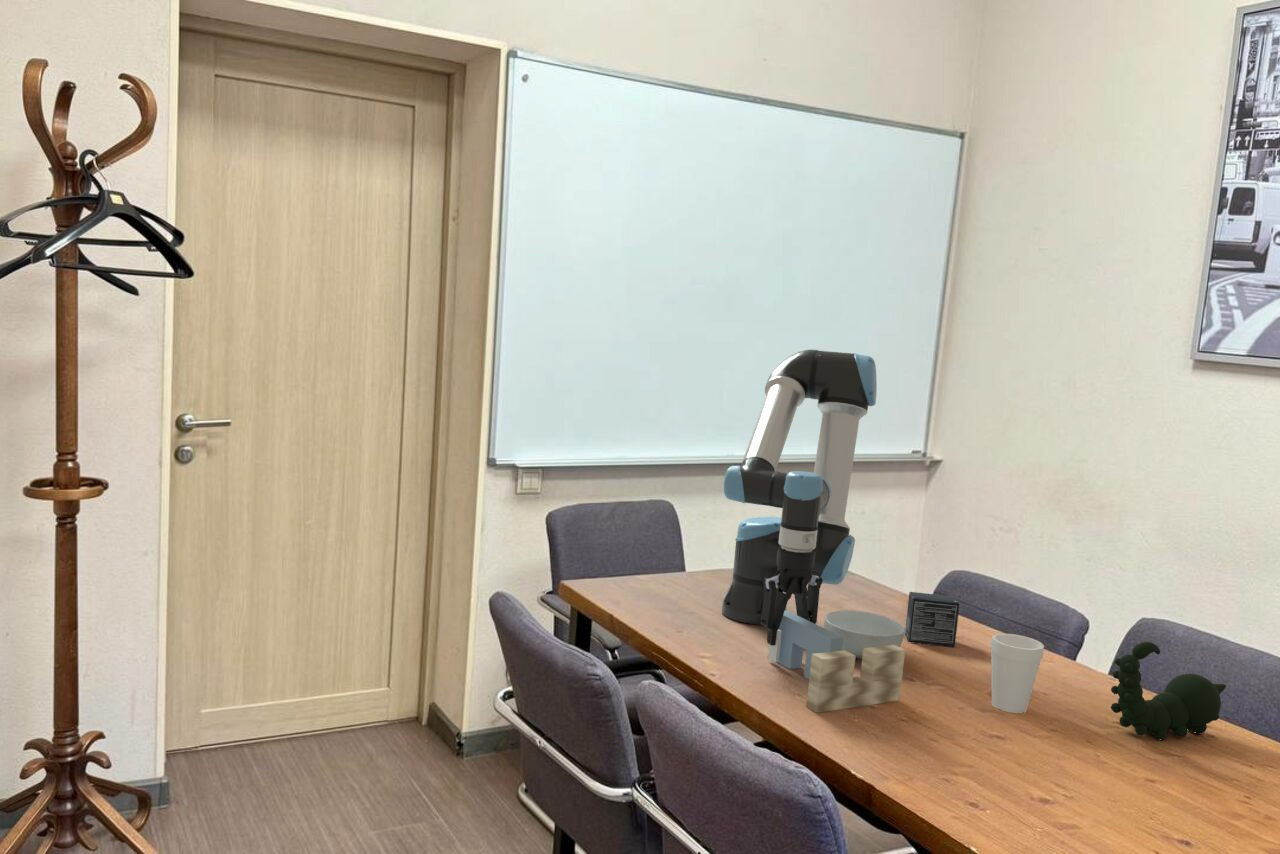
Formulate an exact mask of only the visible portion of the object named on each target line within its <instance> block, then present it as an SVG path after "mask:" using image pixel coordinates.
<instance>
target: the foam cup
mask: <svg viewBox="0 0 1280 854" xmlns="http://www.w3.org/2000/svg"><path fill="white" fill-rule="evenodd" d="M989 646H990V648H989V649H990V652H991V654H990V655H991V657H990V659H991V663H990V664H991V671H990V672H991V675H990V676H991V705H992V706H993V707H994V708H995V707H996V708H995V709H997V708H998V709H997V710H999V709H1001V710H1000V711H1002V710H1003V712H1005V711H1008V712H1007V713H1010V712H1012V713H1011V714H1023V713H1022V712H1024V713H1026V712H1027V711H1028V710H1027V709H1028V707H1029V704H1030V703H1029V702H1030V700H1031V696H1032V692H1033V689H1034V686H1035V682H1036V679H1037V675H1038V672H1039V668H1040V665H1041V662H1042V659H1043V658H1044V657H1043V656H1044V650H1045V645H1044V644H1043V642H1041V641H1039V640H1036V639H1035V638H1031V637H1028V636H1024V635H1019V634H1013V633H996V634H995V633H994V634H993V635H992V636H991V640H990V645H989ZM1025 711H1026V712H1025Z"/></svg>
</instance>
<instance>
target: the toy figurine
mask: <svg viewBox="0 0 1280 854" xmlns="http://www.w3.org/2000/svg"><path fill="white" fill-rule="evenodd" d="M1131 651H1132V652H1131V654H1124V655H1123V656H1121V657H1120V658H1116V659H1115V660H1114V664H1115V665H1116V666H1118V667H1119V669H1118V670H1114V671H1113V672H1112V676H1113V678H1114V679H1116V680H1117V681H1118V682H1119V683H1118V684H1117V685H1113V686H1111V688H1110V691H1111V692H1112V693H1113V694H1114V695H1117V696H1118V700H1117V702H1114V703H1112V704H1111V706H1110V709H1111V711H1112V712H1114V713H1115V714H1118V713H1121V714H1122V715H1121V717H1119V719H1118V720H1119V721H1118V722H1119V725H1120V726H1121V727H1123V728H1128V727H1133V728H1134V732H1135V733H1136V734H1137V735H1138V736H1141V737H1142V736H1145V735H1147V734H1149V735H1153V736H1154V738H1155V739H1157V740H1158V739H1161V740H1160V741H1165V740H1166V738H1167V737H1168V736H1167V735H1168V734H1167V731H1171V732H1172V734H1173V735H1174V736H1175V737H1177V738H1185V737H1186V736H1187V734H1188V730H1189V732H1190V731H1192V732H1196V733H1195V734H1197V733H1201V734H1203V733H1205V732H1206V730H1207V728H1208V727H1207V726H1208V725H1207V724H1210V723H1212V722H1215V721H1218V719H1219V718H1220V715H1219V714H1220V710H1221V708H1222V700H1221V694H1222V693H1223V692H1224V691H1225V689H1226V688H1227V686H1226V684H1223V683H1213V682H1212V681H1210V680H1209V679H1208V678H1206V677H1204V676H1202V675H1200V674H1196V673H1184V674H1180V675H1177V676H1175V677H1174V678H1172V679H1171V680H1169V682H1168V683H1167V684H1166V686H1165V688H1164V691H1163V692H1160V693H1158V694H1156V695H1154V696H1153V697H1152V699H1147V700H1146V699H1145V698H1144V697H1143V693H1144V689H1143V687H1142V685H1141V681H1142V674H1141V672H1140V671H1139V670H1140V668H1141V665H1140V664H1141V663H1140V660H1143V659H1146V658H1147V657H1148V656H1149V655H1150V654H1152V653H1155V655H1160V654H1161V650H1160V648H1159V646H1158V645H1156V644H1155V643H1154V642H1150V641H1144V642H1142V641H1141V642H1140V643H1138V644H1136V645H1134V647H1133V648H1132V650H1131ZM1187 729H1188V730H1187ZM1192 732H1191V733H1192ZM1164 739H1165V740H1164Z"/></svg>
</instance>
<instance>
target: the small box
mask: <svg viewBox="0 0 1280 854" xmlns="http://www.w3.org/2000/svg"><path fill="white" fill-rule="evenodd" d="M907 602H908V603H907V611H906V612H907V613H906V620H905V627H904V628H905V633H904V637H905V636H906V637H905V639H906V638H907V639H906V642H908V643H909V642H914V643H913V644H918V643H921V644H920V645H928V644H930V645H931V646H938V647H939V646H940V647H948V648H955V647H956V638H957V631H958V620H959V610H960V605H961V602H960V601H959V600H958V599H957V597H956V596H954V595H944V594H935V593H923V592H916V591H915V592H914V591H909V592H908V601H907ZM930 645H929V646H930Z"/></svg>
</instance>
